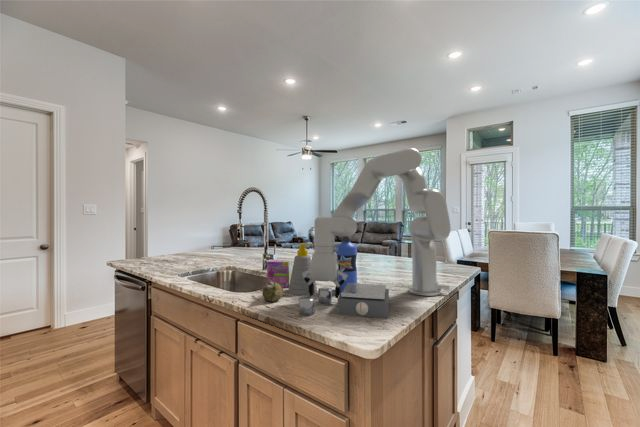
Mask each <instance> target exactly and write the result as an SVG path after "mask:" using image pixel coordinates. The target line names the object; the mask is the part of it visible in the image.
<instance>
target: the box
mask: <svg viewBox="0 0 640 427" xmlns="http://www.w3.org/2000/svg"><path fill="white" fill-rule="evenodd" d="M292 269H293V260H292V259H269V260H267V261H266V273H267V274H266V277H267V279H266V280H267V281H266V282H267V284H266V285H268V284H269V281H270V280H272V281H273V282H274V281H275V282H276V283H278V284H280V285H281V286H282V287H283V288H287V289H289V284H290V279H291V274H292Z"/></svg>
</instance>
